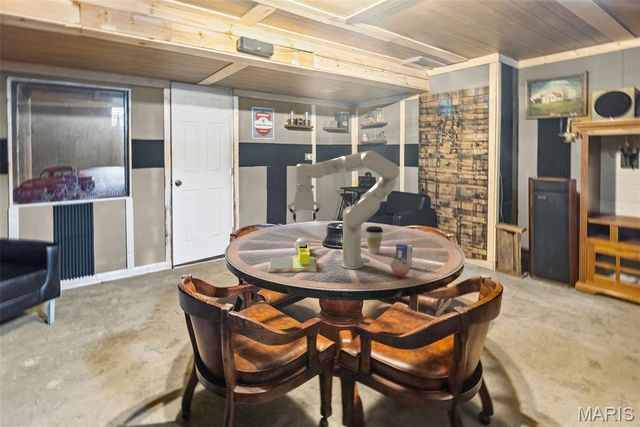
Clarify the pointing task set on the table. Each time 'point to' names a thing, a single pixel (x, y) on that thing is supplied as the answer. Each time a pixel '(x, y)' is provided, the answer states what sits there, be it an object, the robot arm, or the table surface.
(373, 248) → the coffee cup
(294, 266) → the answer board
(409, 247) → the blue and white carton
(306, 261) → the yellow toy chassis
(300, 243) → the white ovoid
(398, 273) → the decorative fruit
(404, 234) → the table surface
